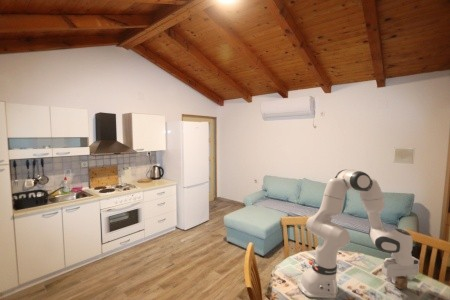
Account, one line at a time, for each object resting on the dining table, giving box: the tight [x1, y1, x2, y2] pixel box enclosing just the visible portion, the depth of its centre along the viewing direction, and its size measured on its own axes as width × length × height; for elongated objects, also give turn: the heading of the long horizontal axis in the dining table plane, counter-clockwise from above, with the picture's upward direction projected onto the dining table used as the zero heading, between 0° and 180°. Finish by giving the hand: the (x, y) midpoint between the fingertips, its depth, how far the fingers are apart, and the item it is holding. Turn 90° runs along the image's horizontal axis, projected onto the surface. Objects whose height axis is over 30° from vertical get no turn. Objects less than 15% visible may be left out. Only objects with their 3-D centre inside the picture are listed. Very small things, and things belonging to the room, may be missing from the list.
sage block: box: [408, 275, 416, 281], centre depth 133 cm, size 4×4×4 cm
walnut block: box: [390, 276, 409, 290], centre depth 125 cm, size 5×5×6 cm
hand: (399, 282), depth 125 cm, fingers closed on walnut block, 5 cm apart
